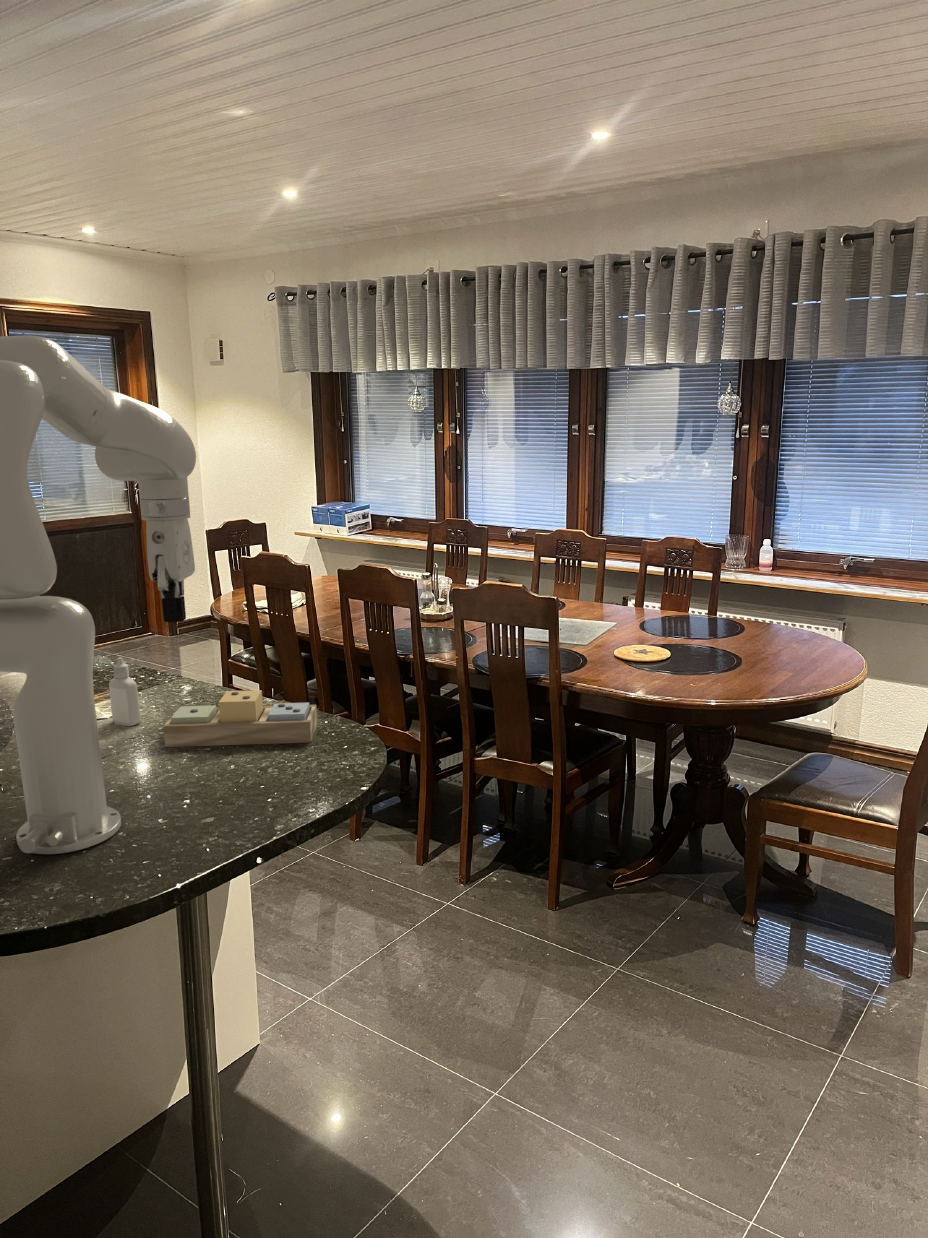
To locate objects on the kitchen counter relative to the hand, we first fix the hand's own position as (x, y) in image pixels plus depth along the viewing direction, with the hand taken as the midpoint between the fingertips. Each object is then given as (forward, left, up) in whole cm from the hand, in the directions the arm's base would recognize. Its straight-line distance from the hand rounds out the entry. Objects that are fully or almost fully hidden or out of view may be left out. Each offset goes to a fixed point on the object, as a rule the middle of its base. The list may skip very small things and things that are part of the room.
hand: (175, 620), depth 147 cm
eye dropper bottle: (+9, +13, -21) cm, 26 cm away
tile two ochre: (0, -10, -17) cm, 20 cm away
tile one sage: (0, -2, -20) cm, 20 cm away
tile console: (0, -10, -20) cm, 23 cm away
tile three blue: (0, -18, -20) cm, 26 cm away
